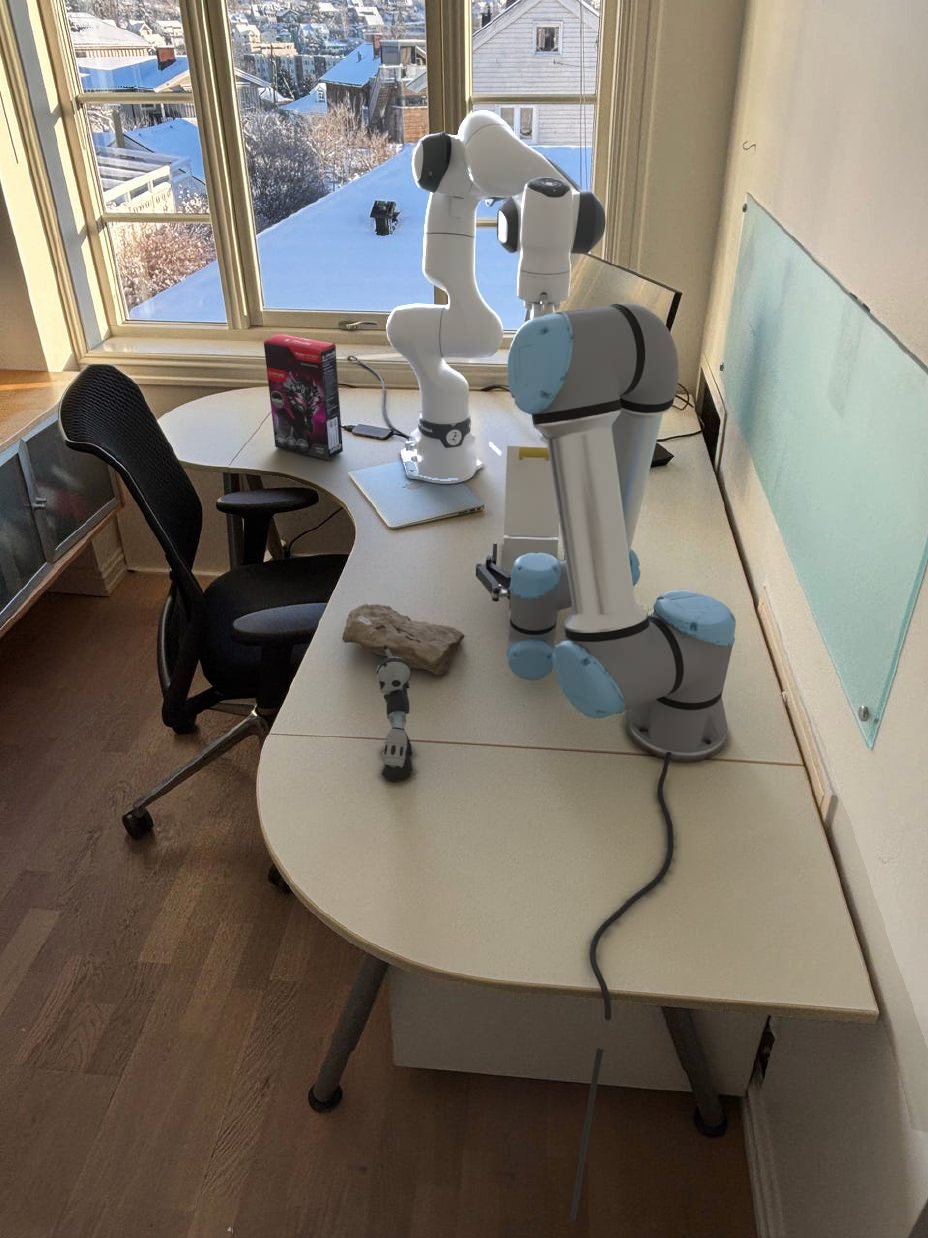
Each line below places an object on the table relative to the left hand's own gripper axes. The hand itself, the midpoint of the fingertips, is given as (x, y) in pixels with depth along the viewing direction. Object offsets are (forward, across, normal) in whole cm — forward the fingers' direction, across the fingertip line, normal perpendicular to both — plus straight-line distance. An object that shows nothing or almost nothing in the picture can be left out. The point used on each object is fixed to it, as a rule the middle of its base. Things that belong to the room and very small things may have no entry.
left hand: (539, 366), depth 162 cm
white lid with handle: (+23, -3, 0) cm, 23 cm away
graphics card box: (+40, +52, +55) cm, 86 cm away
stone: (+40, -31, +23) cm, 56 cm away
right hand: (+34, -6, 0) cm, 34 cm away
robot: (+40, -59, +19) cm, 74 cm away
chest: (+40, -1, 0) cm, 40 cm away
